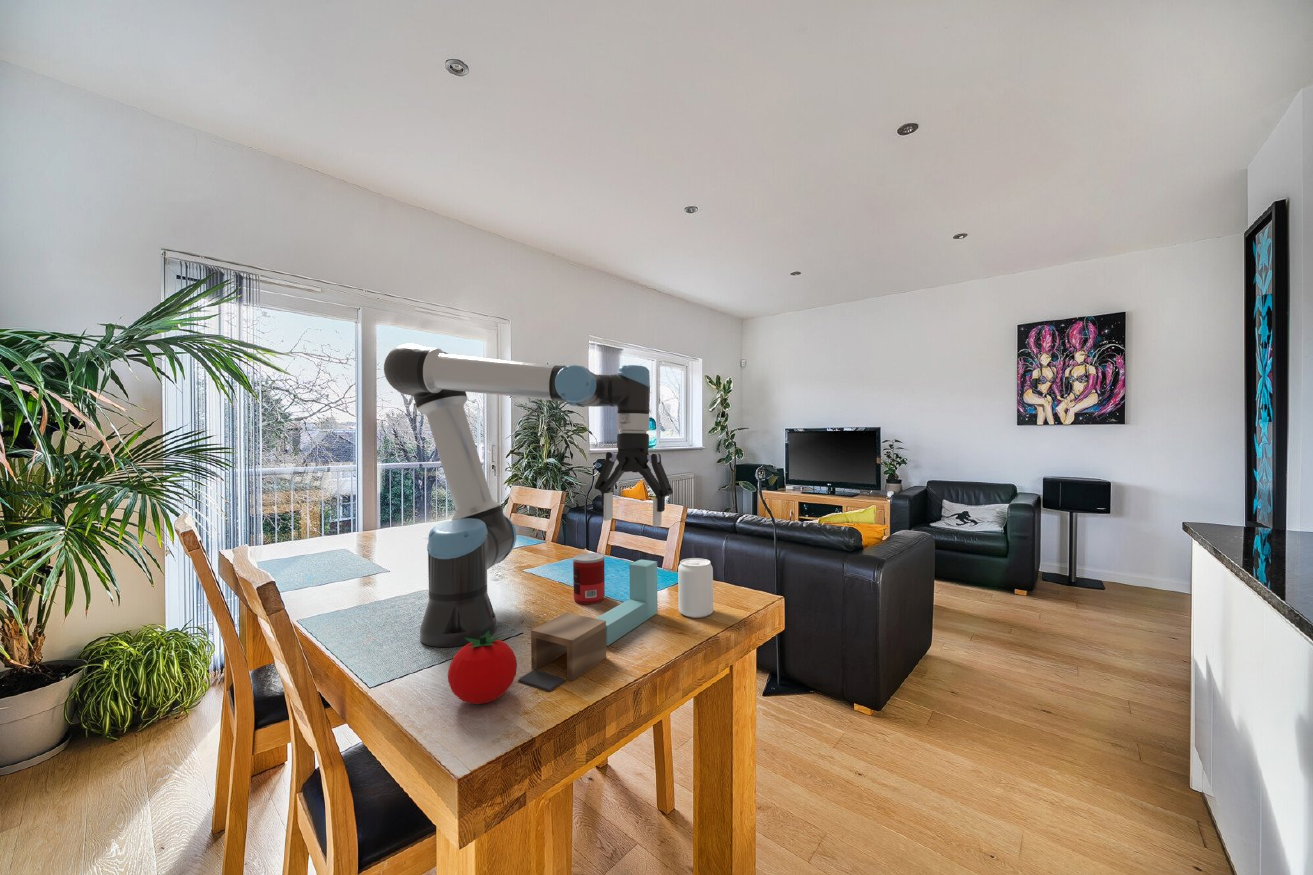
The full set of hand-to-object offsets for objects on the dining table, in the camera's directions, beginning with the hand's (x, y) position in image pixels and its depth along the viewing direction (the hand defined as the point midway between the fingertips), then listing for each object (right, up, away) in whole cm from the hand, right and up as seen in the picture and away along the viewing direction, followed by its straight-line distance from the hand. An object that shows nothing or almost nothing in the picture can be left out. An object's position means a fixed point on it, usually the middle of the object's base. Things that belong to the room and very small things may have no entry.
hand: (631, 522), depth 116 cm
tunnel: (-10, -22, -25) cm, 34 cm away
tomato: (-22, -22, -37) cm, 48 cm away
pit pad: (-14, -22, -31) cm, 41 cm away
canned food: (-11, -21, +10) cm, 26 cm away
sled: (-1, -21, -8) cm, 23 cm away
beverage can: (+15, -21, 0) cm, 26 cm away
